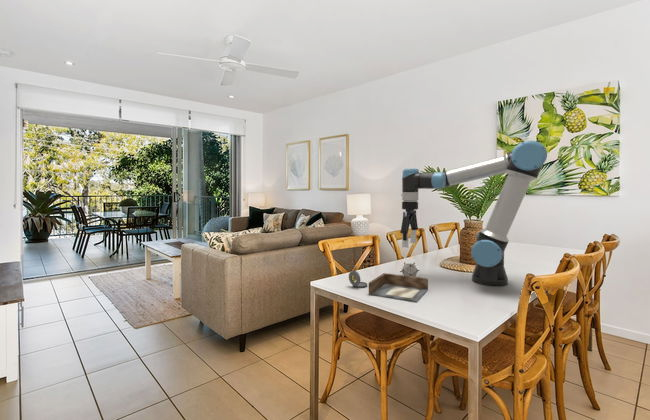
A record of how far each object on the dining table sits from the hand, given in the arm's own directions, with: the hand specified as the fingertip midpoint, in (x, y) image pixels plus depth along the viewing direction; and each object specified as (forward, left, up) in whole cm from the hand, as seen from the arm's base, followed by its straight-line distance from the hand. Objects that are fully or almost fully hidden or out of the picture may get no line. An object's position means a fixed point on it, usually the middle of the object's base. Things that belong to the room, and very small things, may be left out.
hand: (409, 245), depth 162 cm
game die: (0, 0, -17) cm, 17 cm away
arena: (-2, +23, -17) cm, 28 cm away
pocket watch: (+17, +23, -17) cm, 33 cm away
